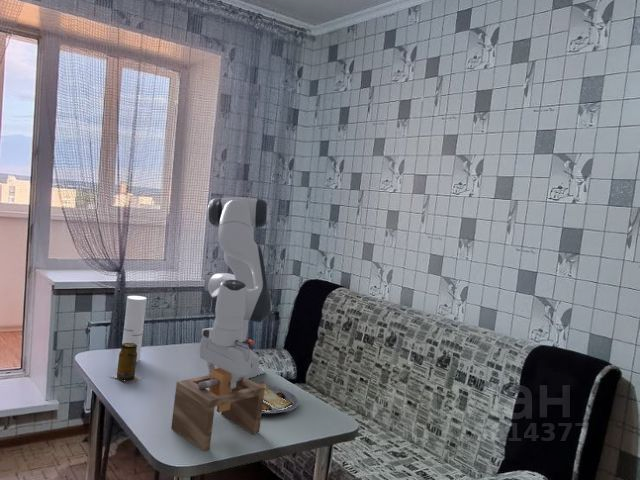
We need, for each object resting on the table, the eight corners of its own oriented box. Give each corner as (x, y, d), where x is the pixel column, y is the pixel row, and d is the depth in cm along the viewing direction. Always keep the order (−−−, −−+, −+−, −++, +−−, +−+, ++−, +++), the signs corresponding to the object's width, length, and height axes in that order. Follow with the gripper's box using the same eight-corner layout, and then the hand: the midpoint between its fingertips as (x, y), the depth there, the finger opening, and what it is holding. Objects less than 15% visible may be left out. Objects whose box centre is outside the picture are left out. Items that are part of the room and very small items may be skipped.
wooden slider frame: (226, 413, 161) (232, 364, 160) (259, 432, 150) (265, 381, 149) (171, 428, 146) (177, 374, 145) (203, 451, 135) (210, 393, 134)
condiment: (126, 372, 184) (130, 340, 184) (143, 378, 181) (147, 346, 180) (110, 377, 178) (113, 344, 177) (127, 383, 174) (131, 350, 173)
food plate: (214, 392, 176) (216, 382, 176) (270, 386, 190) (272, 377, 190) (249, 424, 156) (251, 413, 156) (308, 414, 171) (310, 404, 170)
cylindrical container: (123, 356, 201) (130, 295, 200) (141, 357, 202) (148, 297, 200) (118, 361, 194) (125, 298, 192) (137, 363, 195) (144, 300, 193)
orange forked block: (218, 403, 151) (222, 367, 150) (229, 409, 147) (234, 373, 146) (207, 405, 148) (211, 369, 147) (218, 412, 144) (223, 375, 143)
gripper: (259, 344, 142) (253, 392, 143) (215, 326, 155) (210, 369, 156) (241, 347, 137) (235, 396, 138) (198, 328, 150) (193, 373, 151)
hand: (221, 382), depth 147 cm, fingers open, 8 cm apart
